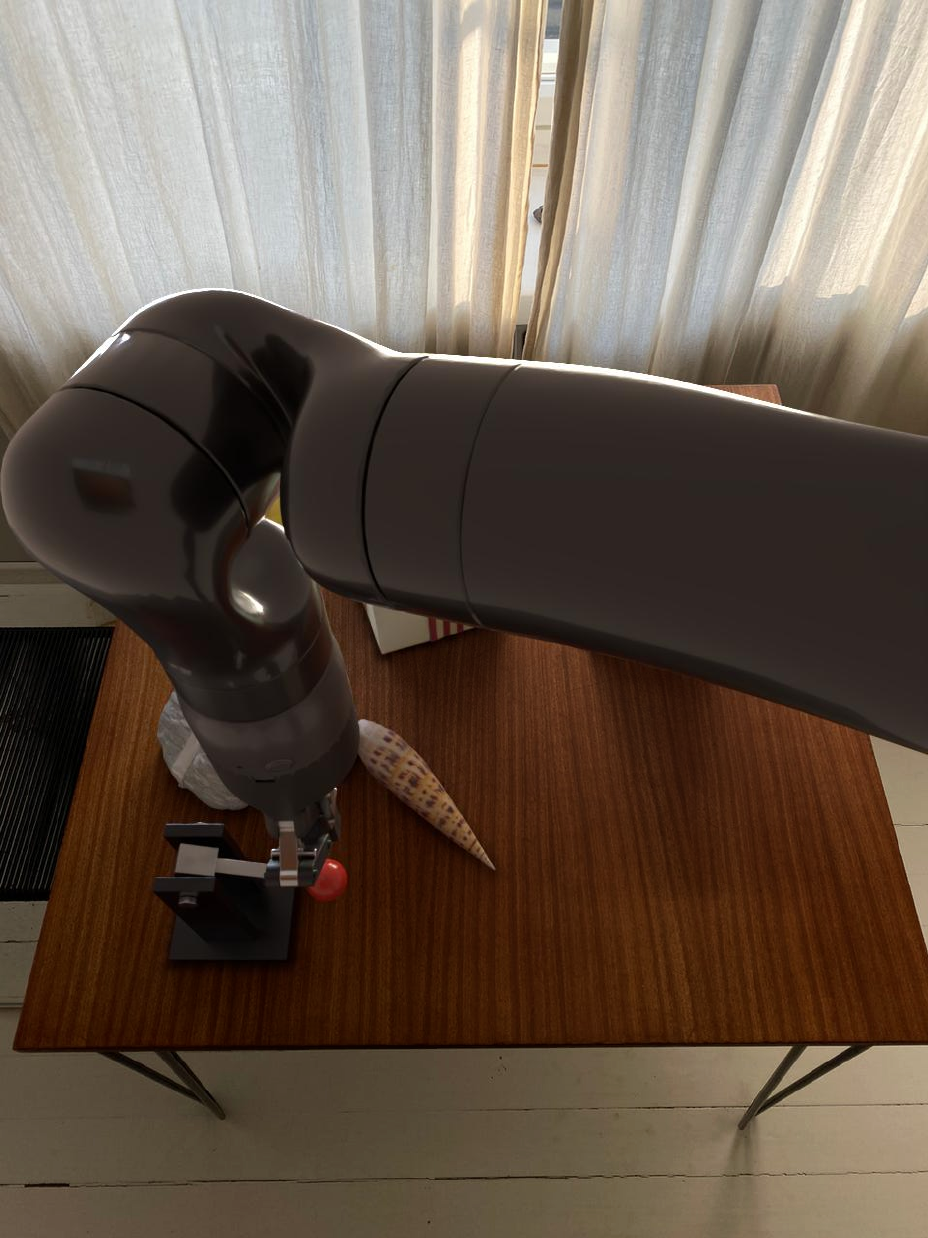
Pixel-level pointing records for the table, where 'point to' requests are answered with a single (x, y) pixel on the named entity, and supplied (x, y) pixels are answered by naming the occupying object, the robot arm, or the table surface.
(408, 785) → the seashell
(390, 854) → the table surface
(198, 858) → the lever
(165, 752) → the decorative stone
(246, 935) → the bracket
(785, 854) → the table surface
